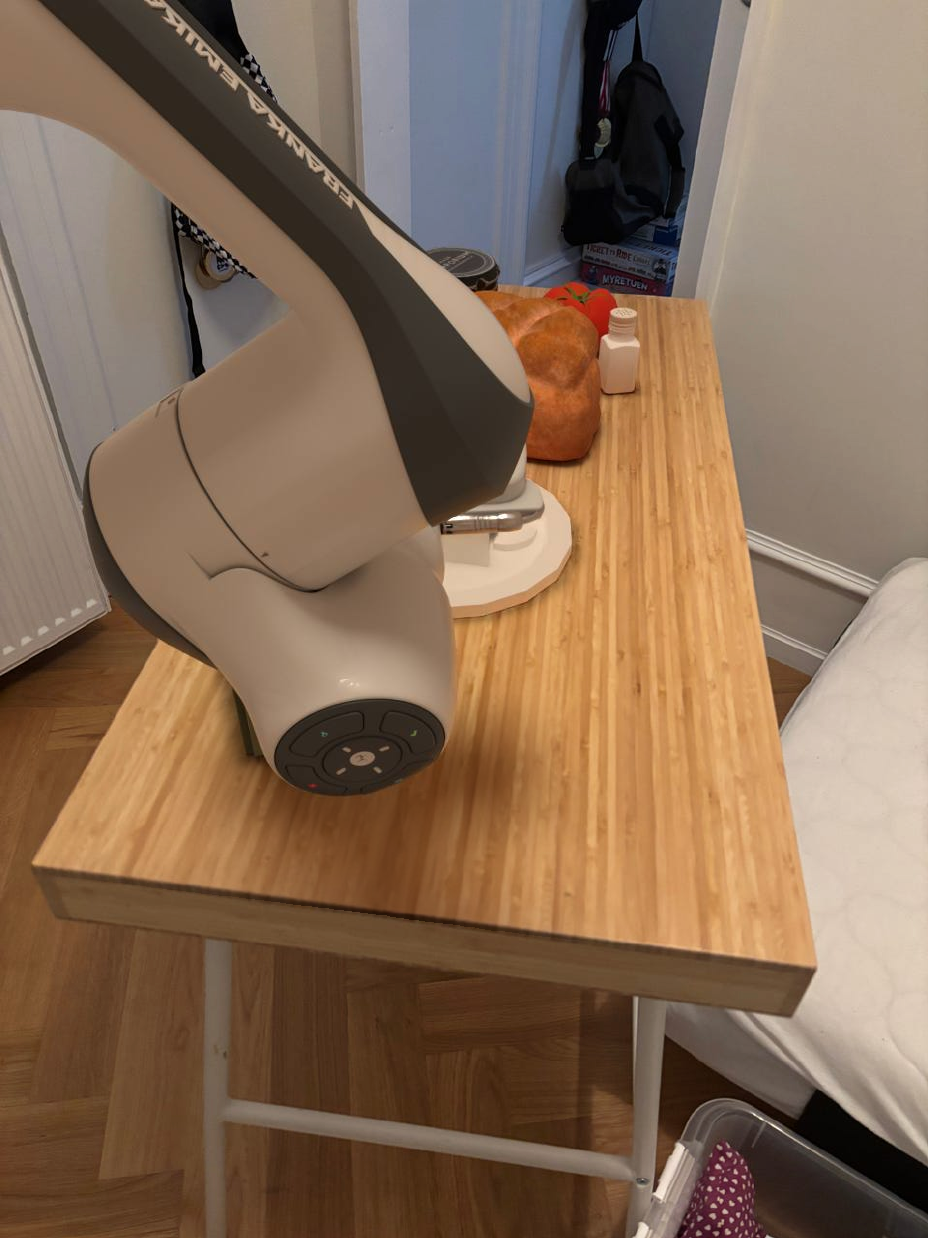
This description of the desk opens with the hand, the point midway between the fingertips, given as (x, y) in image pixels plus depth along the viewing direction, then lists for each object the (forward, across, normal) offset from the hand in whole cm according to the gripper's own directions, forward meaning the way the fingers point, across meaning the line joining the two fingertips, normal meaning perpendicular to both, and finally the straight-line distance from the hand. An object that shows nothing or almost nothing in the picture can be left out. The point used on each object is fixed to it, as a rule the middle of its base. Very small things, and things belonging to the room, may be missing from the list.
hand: (354, 411), depth 60 cm
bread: (+42, -14, +24) cm, 50 cm away
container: (+68, -13, +24) cm, 74 cm away
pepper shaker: (+50, -31, +24) cm, 64 cm away
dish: (+19, -7, +24) cm, 31 cm away
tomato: (+63, -29, +24) cm, 73 cm away
